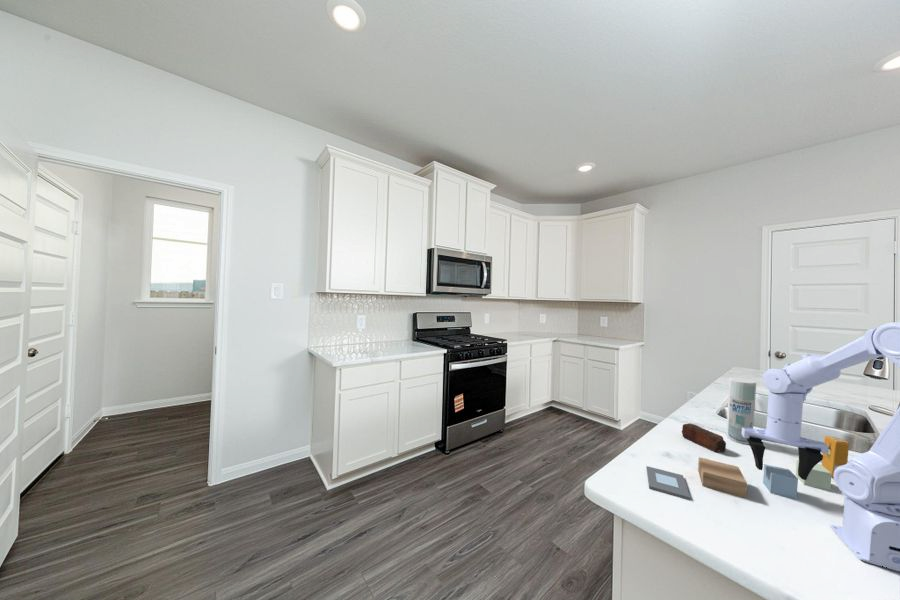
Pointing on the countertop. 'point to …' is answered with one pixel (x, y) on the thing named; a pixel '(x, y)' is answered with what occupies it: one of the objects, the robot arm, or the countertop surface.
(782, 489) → the slate block
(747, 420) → the spray can
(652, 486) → the card
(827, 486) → the sage block
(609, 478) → the countertop surface
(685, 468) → the countertop surface
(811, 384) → the robot arm
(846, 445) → the supplement box
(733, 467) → the base block
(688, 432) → the brick
